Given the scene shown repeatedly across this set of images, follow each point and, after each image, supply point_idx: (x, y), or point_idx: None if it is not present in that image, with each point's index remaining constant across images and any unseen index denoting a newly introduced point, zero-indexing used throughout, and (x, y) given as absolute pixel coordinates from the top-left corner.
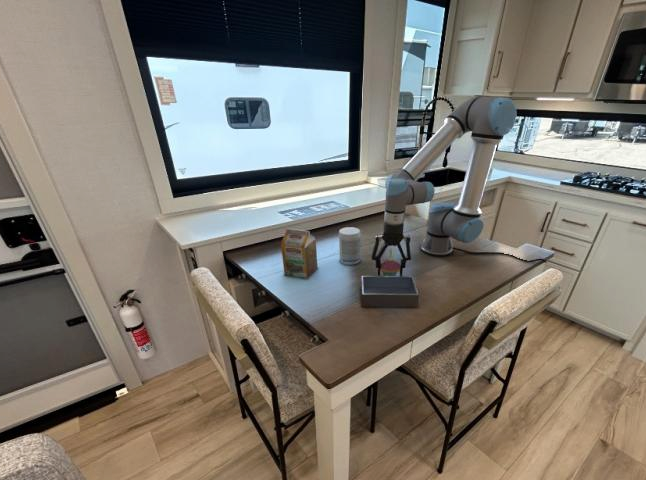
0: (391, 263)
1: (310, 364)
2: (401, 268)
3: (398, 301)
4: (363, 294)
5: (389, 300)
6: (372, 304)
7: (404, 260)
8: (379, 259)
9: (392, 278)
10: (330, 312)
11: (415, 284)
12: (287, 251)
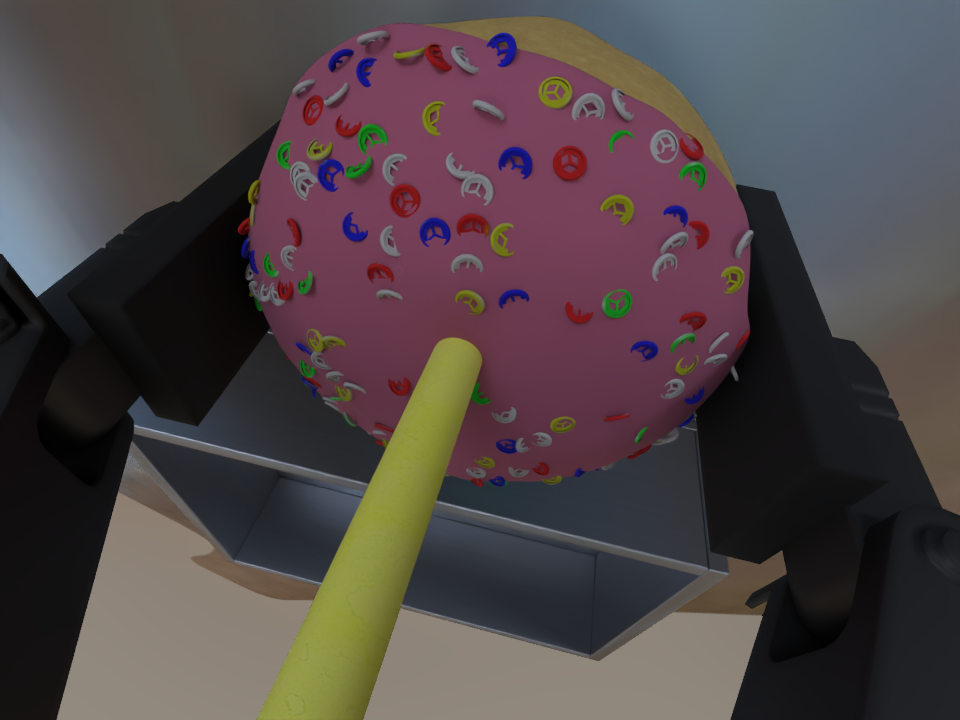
0: (460, 460)
1: (205, 568)
2: (704, 408)
3: (476, 567)
4: (234, 561)
5: (417, 560)
6: (327, 503)
7: (795, 622)
8: (117, 470)
9: (465, 494)
10: (133, 459)
11: (649, 626)
12: None
